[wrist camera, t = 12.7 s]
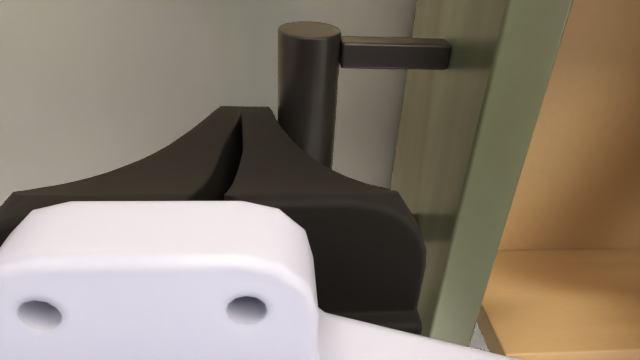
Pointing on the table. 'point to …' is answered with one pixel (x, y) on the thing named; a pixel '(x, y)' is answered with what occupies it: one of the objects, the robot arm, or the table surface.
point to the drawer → (504, 164)
